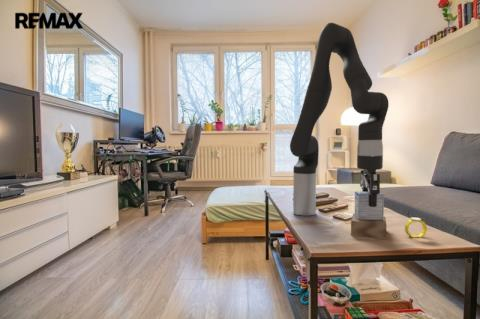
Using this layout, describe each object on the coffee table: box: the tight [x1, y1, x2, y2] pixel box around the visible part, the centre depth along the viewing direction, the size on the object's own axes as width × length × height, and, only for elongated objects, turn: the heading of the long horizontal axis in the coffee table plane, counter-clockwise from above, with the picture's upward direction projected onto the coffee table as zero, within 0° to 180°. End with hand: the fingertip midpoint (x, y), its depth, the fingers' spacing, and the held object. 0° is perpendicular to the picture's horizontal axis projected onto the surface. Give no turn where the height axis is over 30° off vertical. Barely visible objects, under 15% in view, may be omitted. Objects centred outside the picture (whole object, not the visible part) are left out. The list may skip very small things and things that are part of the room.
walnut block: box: [350, 213, 387, 240], centre depth 89 cm, size 10×10×5 cm
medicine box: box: [354, 191, 385, 220], centre depth 89 cm, size 8×4×9 cm, turn 81°
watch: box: [404, 217, 428, 238], centre depth 85 cm, size 6×3×6 cm, turn 88°
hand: (369, 203), depth 89 cm, fingers open, 8 cm apart
